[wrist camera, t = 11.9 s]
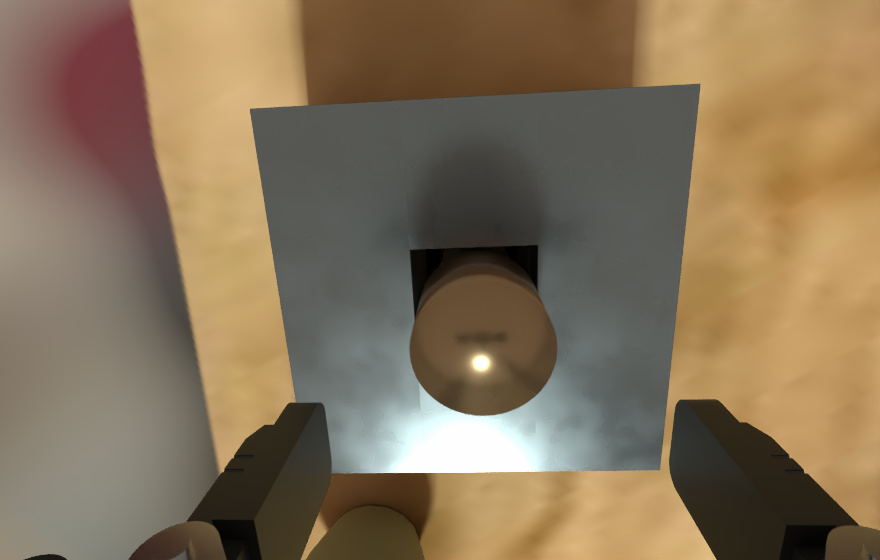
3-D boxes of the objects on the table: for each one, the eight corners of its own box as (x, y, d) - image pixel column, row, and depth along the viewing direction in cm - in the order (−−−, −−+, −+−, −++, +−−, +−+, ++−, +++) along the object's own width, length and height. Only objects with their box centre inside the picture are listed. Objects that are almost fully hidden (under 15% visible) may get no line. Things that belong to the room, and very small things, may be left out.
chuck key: (519, 217, 25) (559, 279, 15) (519, 302, 27) (555, 414, 16) (428, 220, 25) (404, 284, 15) (433, 305, 27) (414, 416, 16)
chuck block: (631, 97, 23) (700, 83, 16) (612, 388, 28) (659, 469, 21) (308, 115, 24) (249, 108, 17) (343, 394, 29) (307, 473, 22)
